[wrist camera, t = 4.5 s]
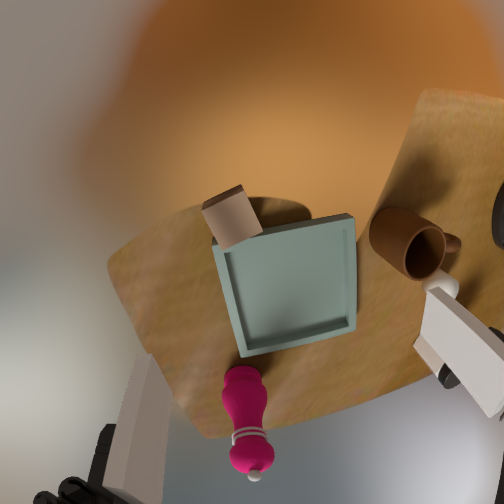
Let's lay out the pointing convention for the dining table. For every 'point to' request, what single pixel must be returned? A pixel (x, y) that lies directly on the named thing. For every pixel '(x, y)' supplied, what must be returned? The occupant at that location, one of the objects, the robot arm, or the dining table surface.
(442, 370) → the jar
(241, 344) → the tray
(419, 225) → the mug
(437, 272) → the white rounded cylinder
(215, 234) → the block
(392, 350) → the dining table surface
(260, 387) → the pepper mill
